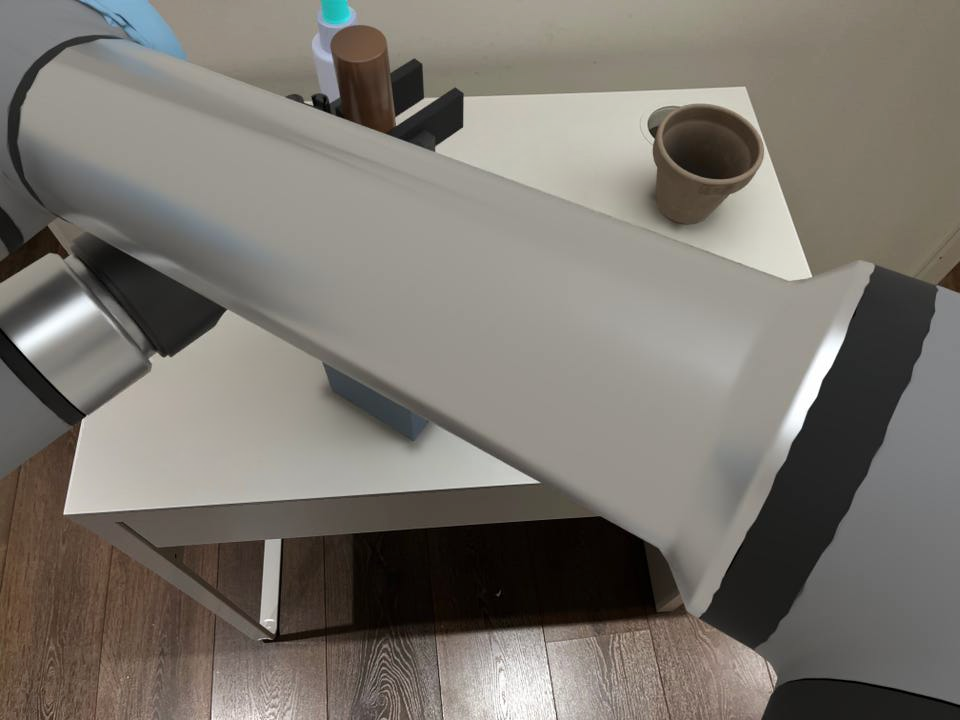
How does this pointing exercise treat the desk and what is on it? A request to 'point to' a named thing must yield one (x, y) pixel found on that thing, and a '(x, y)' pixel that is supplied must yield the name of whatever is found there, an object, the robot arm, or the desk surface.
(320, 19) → the spray bottle
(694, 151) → the flower pot
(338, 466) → the desk surface
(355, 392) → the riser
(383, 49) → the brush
